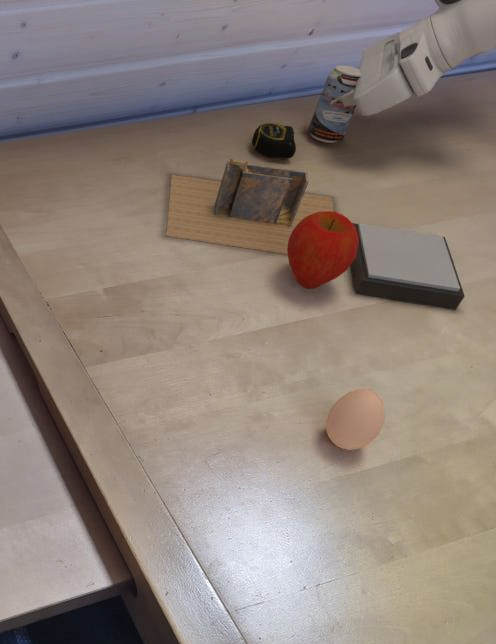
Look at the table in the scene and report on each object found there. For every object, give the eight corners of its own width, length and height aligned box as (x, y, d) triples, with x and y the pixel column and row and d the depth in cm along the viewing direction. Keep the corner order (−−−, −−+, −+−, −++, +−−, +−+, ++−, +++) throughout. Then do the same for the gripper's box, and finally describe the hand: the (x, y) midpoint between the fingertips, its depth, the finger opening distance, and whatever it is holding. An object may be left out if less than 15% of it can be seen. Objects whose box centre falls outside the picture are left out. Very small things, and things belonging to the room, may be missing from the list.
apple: (281, 256, 101) (307, 191, 93) (342, 274, 99) (374, 210, 91) (268, 291, 96) (294, 226, 88) (332, 312, 93) (365, 246, 85)
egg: (369, 465, 77) (402, 418, 71) (319, 457, 77) (348, 410, 71) (361, 427, 80) (393, 379, 74) (314, 419, 81) (341, 371, 75)
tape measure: (291, 165, 117) (298, 145, 115) (249, 159, 118) (255, 138, 116) (289, 144, 122) (297, 124, 119) (249, 138, 123) (255, 118, 120)
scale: (437, 250, 103) (447, 233, 101) (456, 309, 95) (468, 293, 92) (345, 236, 105) (353, 219, 103) (355, 293, 96) (364, 276, 94)
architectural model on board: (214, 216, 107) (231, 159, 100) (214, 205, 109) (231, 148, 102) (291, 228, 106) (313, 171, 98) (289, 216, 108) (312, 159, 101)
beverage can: (304, 143, 122) (329, 76, 114) (307, 123, 127) (331, 57, 118) (342, 151, 121) (370, 83, 112) (343, 130, 126) (370, 64, 117)
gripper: (415, 10, 116) (332, 57, 126) (410, 61, 103) (318, 108, 113) (431, 43, 118) (348, 86, 128) (428, 97, 105) (336, 140, 115)
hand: (334, 97), depth 120 cm, fingers closed on beverage can, 5 cm apart
